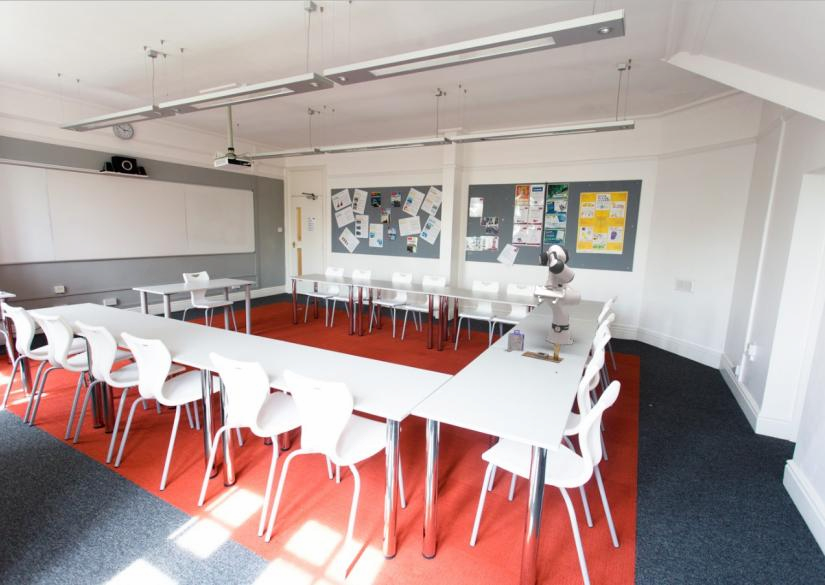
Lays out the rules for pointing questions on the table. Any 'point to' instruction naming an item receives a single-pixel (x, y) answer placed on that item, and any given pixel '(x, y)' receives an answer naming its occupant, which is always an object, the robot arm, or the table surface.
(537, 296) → the robot arm
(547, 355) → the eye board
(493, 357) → the table surface
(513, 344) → the ink cartridge box
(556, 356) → the brass copper-topped peg
